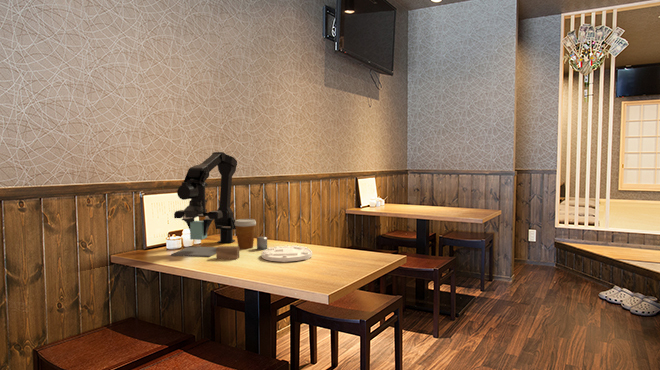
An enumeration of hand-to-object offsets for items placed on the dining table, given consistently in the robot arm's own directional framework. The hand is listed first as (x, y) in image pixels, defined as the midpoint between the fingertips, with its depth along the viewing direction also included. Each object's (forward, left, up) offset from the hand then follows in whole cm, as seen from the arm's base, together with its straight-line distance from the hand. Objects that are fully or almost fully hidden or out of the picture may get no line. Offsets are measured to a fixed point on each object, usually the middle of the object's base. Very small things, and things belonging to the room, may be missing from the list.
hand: (198, 235), depth 177 cm
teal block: (0, 0, -1) cm, 1 cm away
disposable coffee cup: (-12, +16, -7) cm, 21 cm away
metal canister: (-10, +24, -7) cm, 27 cm away
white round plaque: (+3, +38, -8) cm, 39 cm away
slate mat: (0, 0, -7) cm, 7 cm away
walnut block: (+9, +16, -7) cm, 20 cm away
